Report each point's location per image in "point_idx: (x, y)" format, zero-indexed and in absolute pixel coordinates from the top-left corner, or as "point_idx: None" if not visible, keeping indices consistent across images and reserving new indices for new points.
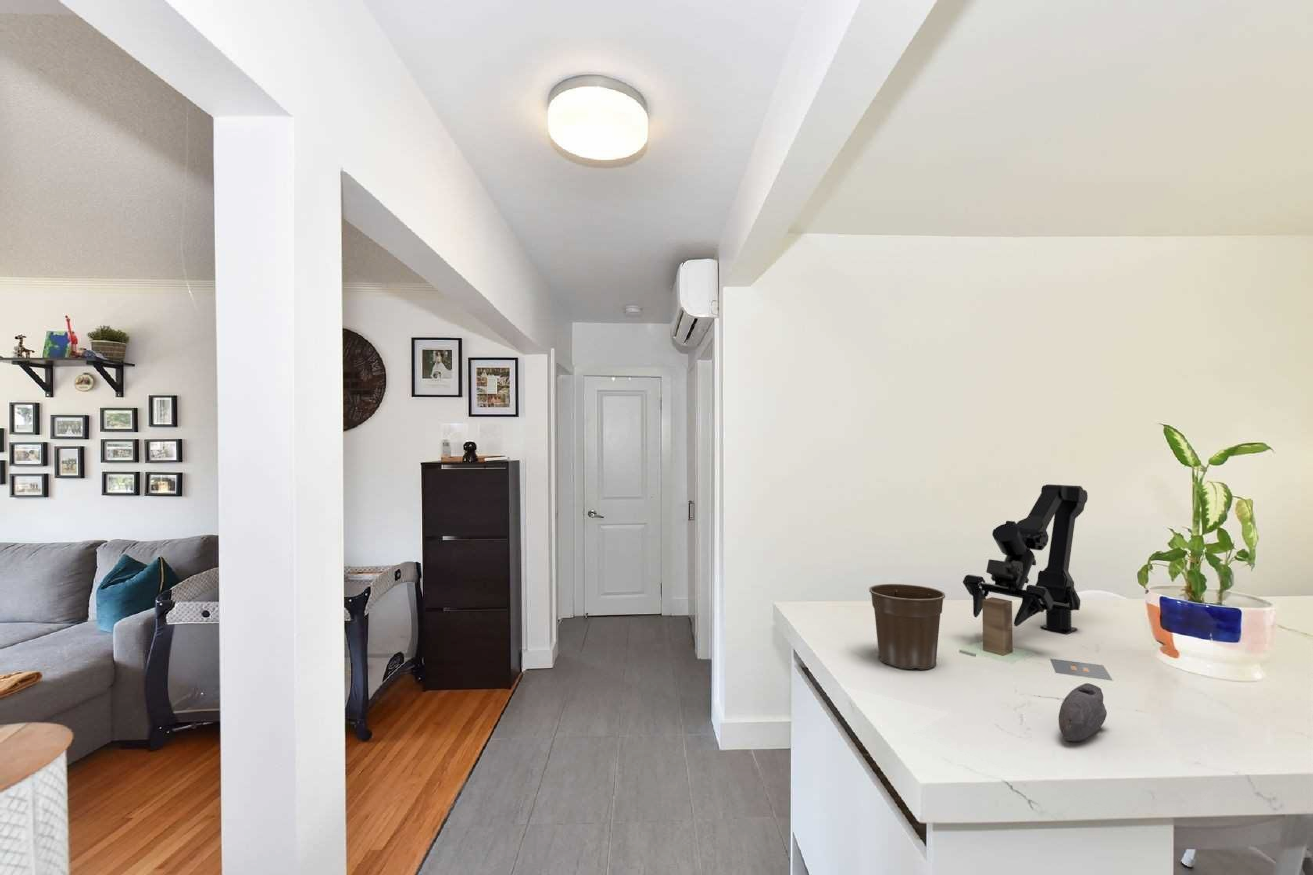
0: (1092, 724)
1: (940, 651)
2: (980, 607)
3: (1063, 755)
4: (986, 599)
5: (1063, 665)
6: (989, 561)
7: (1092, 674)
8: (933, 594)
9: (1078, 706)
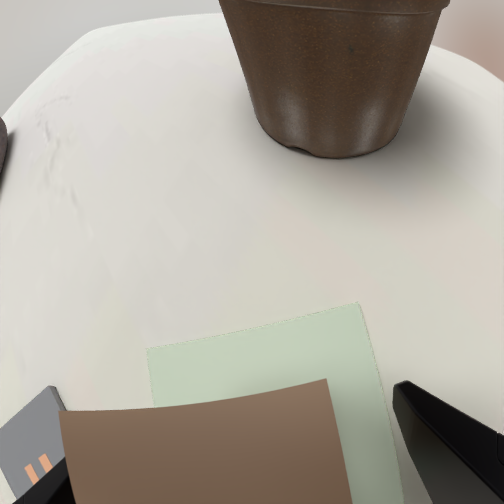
0: None
1: (385, 243)
2: (437, 489)
3: (12, 121)
4: (316, 461)
5: None
6: None
7: (15, 452)
8: None
9: None
